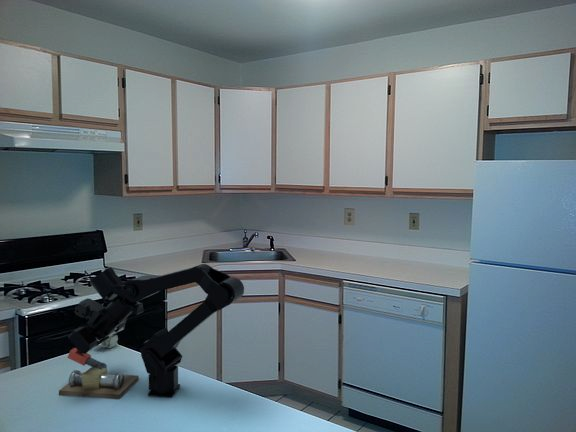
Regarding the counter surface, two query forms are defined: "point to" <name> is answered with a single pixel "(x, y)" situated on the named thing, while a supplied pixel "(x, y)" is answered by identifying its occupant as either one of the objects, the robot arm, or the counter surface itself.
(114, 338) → the pneumatic valve
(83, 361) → the lever
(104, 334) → the robot arm
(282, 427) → the counter surface
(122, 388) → the mounting board
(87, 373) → the valve body
